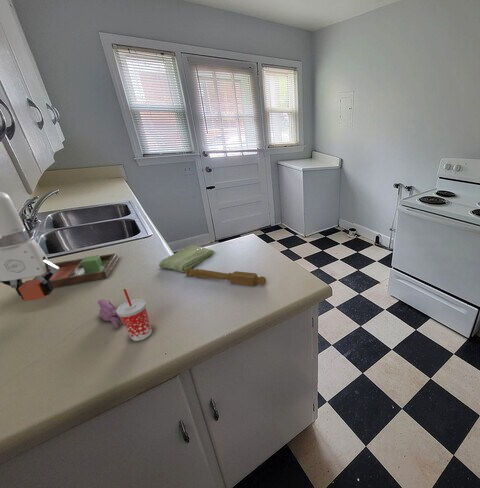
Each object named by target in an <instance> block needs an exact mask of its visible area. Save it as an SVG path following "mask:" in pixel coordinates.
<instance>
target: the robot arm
mask: <svg viewBox="0 0 480 488" xmlns="http://www.w3.org/2000/svg"><path fill="white" fill-rule="evenodd" d="M0 234H1V236H2V238H1V239H0V283H2V284H3V285H6V286H9V287H10V288H12V289H15V291H16V293H17V295H18V296H19V297H20V298H21V299H22V301H25V300H24V298H23V296H22V295H21V293H20V291H19V289H18V288H19V287H20V286H21V285H22V284H23V283H24V282H23V279H31V278H35V277H37V278H38V279H39V280H40V282H41V284H40V286H41V288H42V290H43V292H44V294H45V295H47V296H50V294H52V292H53V291H54V288H53V286H52V284H51V282H50V280H49V279H50V278H51V277H52V276H53V275H54V274H55V273H56V272H57V271H58V270H59V269H60V268H59V267H58V266H56V265H54V264H52V263H53V262H51V261H50V260H49V259H48V257H47V255H46V253H45V252H44V250H43V249H42V247H41V246H40V244H38V242H37V241H36V240H35V239H34V238H30V235H29V233H28V231H27V229H26V227H25V225H24V223H23V221H22V218H21V217H20V214H19V213H18V210H17V209H16V206H15V204H14V203H13V201H12V199H11V197H10V195H9V194H7V193H6V192H3V191H0ZM46 269H50V272H49V273H47V272H46Z"/></svg>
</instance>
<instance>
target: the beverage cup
mask: <svg viewBox="0 0 480 488" xmlns="http://www.w3.org/2000/svg"><path fill="white" fill-rule="evenodd" d="M123 292H124V296H125V298H126V302H124V303H123V302H122V303H121V304H120V305H119V306H118V307H116V308H117V310H116V313H117V315H118V316H119V317H120V321H122V324H123V325H124V327H125V330H126V331H127V333H128V335H129V337H130V339H131V340H132V341H134V342H139V341H142V340H143V341H144V340H146V339H147V338H148V337H150V336H151V334H152V332H153V329H152V325H151V322H150V318H149V314H148V311H147V303H146V302H147V301H146V300H144V299H141V298H136V299H130V296H129V294H128V291H127V289H126V288H123Z"/></svg>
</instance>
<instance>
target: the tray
mask: <svg viewBox="0 0 480 488" xmlns="http://www.w3.org/2000/svg"><path fill="white" fill-rule="evenodd" d="M99 256H100V258H101V261H102V263H103V266H102V268H101V269H100V271H94V272H88V273H85V271H84V269H83V267H82V265H81V261H82V260H83V259H84V258H85V257H82V258H76V259H71V260H65V261H58V262H51V263H52V264H54V265H56V266H58V267H59V268H60V269H59V270H58V271H57V272H56V273H55V274H54V275H53V276H52V277H51V278H50V279H49V280H50V282H51V284H52V286H53V289H54V288H60V287H66V286H70V285H76V284H81V283H87V282H88V283H89V282H93V281H97V280H104V279H108V278H109V276H110V274H111V272H112V271H113V268H114V267H115V266H116V264H117V262H118V260H119V257H118V253H116V252H115V253H114V252H113V253H109V254H102V255H99ZM46 272H47V273H49V272H50V269H46ZM34 279H38V278H37V277H33V278H32V280H34Z"/></svg>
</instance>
